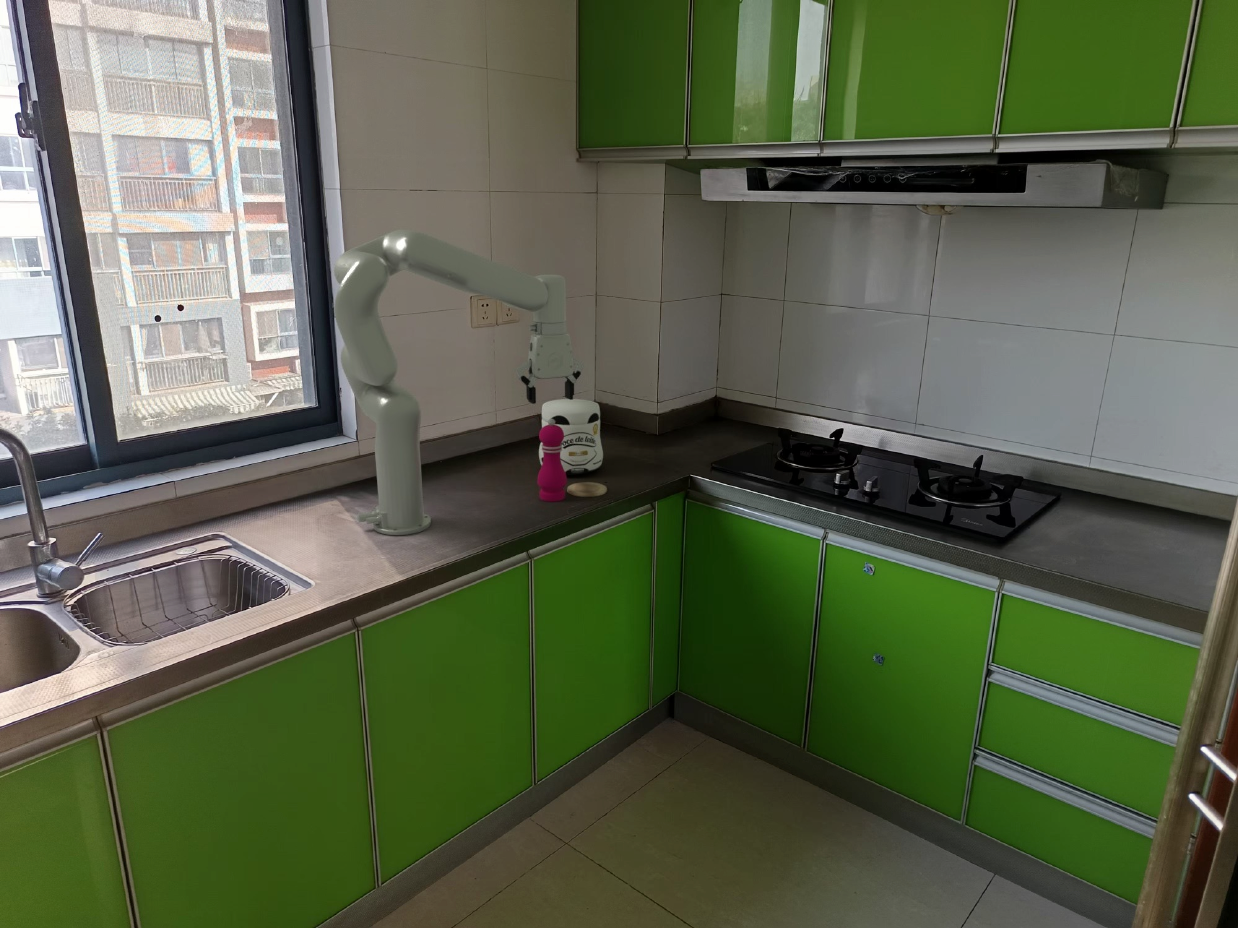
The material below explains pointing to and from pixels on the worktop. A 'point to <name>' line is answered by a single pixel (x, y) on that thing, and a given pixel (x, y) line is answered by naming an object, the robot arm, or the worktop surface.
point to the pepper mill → (551, 464)
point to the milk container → (576, 434)
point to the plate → (587, 489)
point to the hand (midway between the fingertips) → (550, 400)
